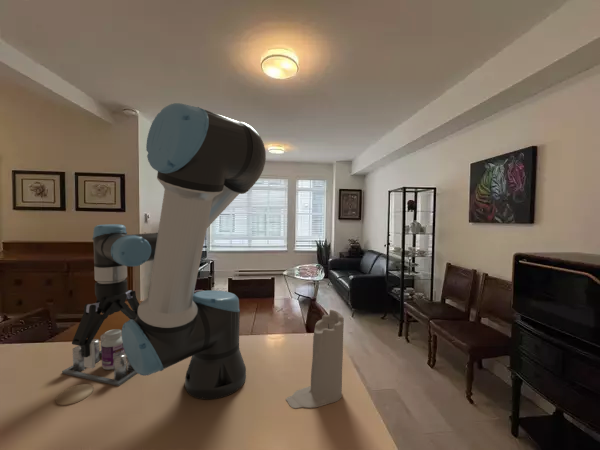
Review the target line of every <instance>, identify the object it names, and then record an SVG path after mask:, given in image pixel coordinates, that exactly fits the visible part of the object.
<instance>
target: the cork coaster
mask: <svg viewBox="0 0 600 450" xmlns="http://www.w3.org/2000/svg"><path fill="white" fill-rule="evenodd" d="M93 391H94V386H93V385H92V384H91V383H90V384H89V383H82V384H77V385H73V386H70V387H67V388H66V389H64V390H62V391H61V392H60V393H58V394H57V396H56V397H55V403H56V405H59V406H69V405H73V404H76V403H79V402H81V401H83V400H85V399H86V398H88V397H89V396H90V395H92V394H93Z"/></svg>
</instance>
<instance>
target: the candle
mask: <svg viewBox="0 0 600 450" xmlns="http://www.w3.org/2000/svg"><path fill="white" fill-rule="evenodd" d="M344 324H345V323H344V316H343V314H341V313H339V311H336V310H334V309H330V310H329V314H323V315H322V316H321V319H320V320H317V322H316V323H315V326H314V332H313V338H312V339H313V340H312V341H313V342H312V359H311V372H310V373H311V374H310V385H309V386H306V387H303V388H299V389H298V390H296V391H294V392H293V394H292V395H290V396H288V397H286V398H285V401H287V404H288V405H289V407H291V408H292V409H299V408H304V409H305V408H306V409H313V408H319V407H322V406H325V405H328V404H329V405H330V404H333V403H337V402H338V401H340V400H341V398H342V396H343V395H342V394H343V393H342V392H343V360H344V359H343V355H344Z"/></svg>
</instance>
